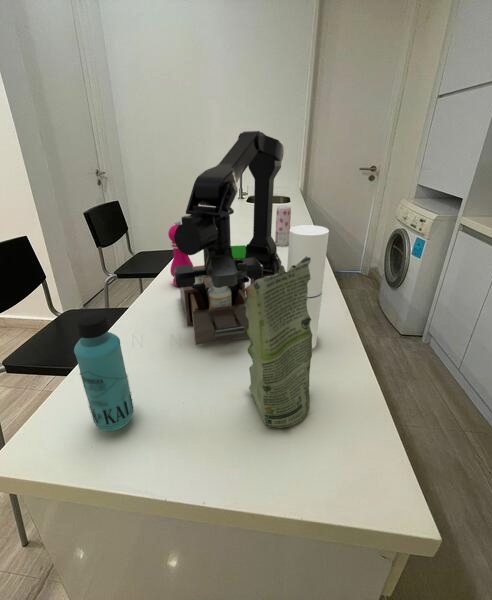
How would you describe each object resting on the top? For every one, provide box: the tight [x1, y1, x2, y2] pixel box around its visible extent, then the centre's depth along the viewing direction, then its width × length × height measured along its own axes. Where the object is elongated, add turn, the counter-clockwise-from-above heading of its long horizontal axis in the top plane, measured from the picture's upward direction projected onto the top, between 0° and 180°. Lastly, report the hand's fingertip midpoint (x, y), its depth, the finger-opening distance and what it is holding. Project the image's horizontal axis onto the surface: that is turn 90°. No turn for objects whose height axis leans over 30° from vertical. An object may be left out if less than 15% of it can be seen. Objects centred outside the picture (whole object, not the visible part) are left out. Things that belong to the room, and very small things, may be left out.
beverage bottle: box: [73, 311, 135, 432], centre depth 49 cm, size 6×7×20 cm
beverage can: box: [274, 205, 292, 247], centre depth 132 cm, size 6×6×15 cm
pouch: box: [244, 256, 313, 429], centre depth 51 cm, size 11×12×25 cm
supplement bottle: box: [207, 279, 232, 309], centre depth 74 cm, size 5×5×10 cm
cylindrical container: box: [286, 224, 330, 350], centre depth 67 cm, size 7×7×25 cm
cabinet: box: [179, 264, 246, 327], centre depth 86 cm, size 15×15×10 cm
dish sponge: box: [231, 244, 247, 260], centre depth 122 cm, size 7×14×2 cm, turn 0°
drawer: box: [189, 289, 250, 346], centre depth 75 cm, size 18×13×8 cm
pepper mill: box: [167, 219, 194, 287], centre depth 99 cm, size 7×7×20 cm
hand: (219, 306), depth 75 cm, fingers closed on supplement bottle, 5 cm apart
